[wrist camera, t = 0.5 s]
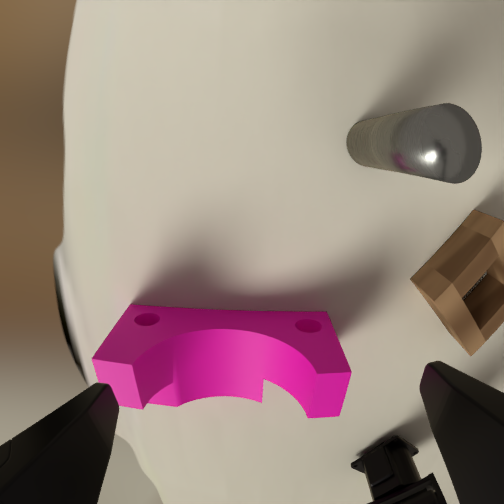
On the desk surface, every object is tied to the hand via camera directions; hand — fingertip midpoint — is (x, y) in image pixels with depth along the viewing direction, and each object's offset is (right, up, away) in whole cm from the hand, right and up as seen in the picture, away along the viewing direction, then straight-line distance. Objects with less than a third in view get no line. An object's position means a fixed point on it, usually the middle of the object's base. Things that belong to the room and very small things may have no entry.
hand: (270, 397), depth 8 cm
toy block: (-2, -3, +17) cm, 17 cm away
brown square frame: (+17, +2, +14) cm, 23 cm away
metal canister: (+7, +11, +12) cm, 18 cm away
